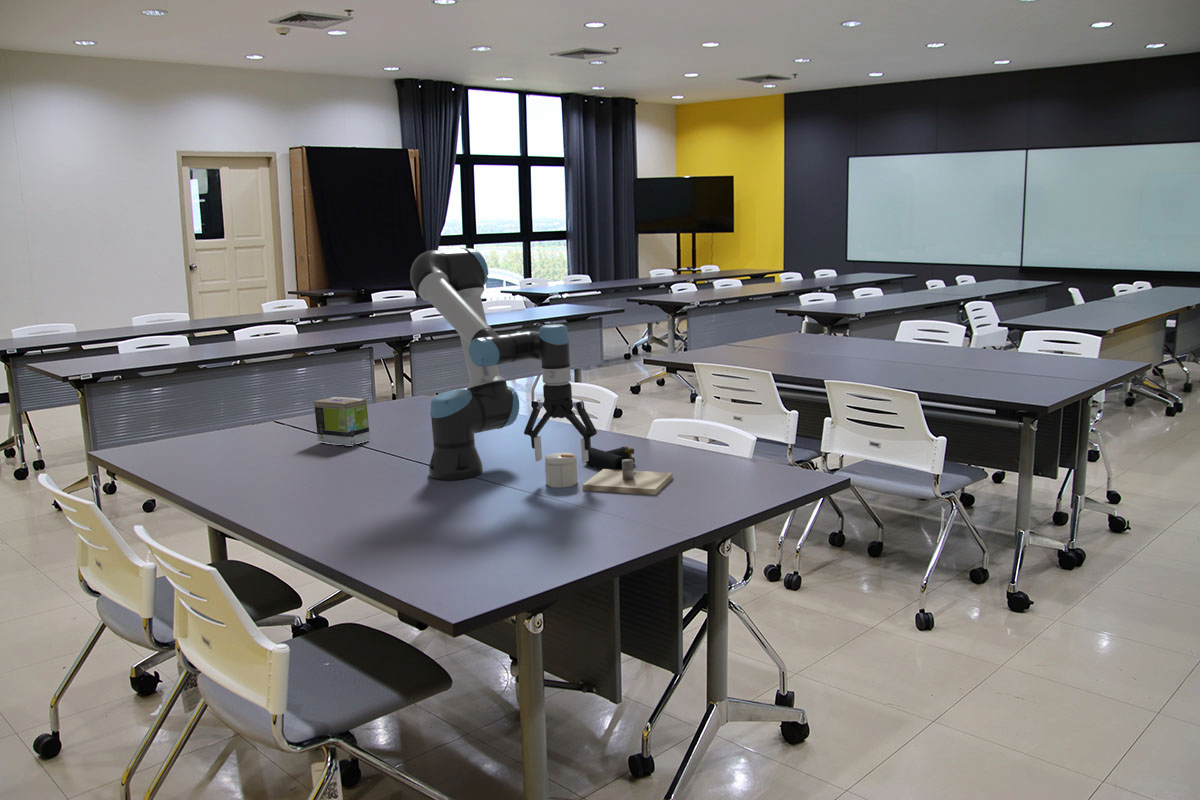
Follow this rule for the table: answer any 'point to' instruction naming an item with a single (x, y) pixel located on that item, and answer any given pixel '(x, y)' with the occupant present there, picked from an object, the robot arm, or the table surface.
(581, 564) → the table surface
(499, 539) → the table surface
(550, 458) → the knob
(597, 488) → the shaft base
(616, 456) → the pipe connector
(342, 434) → the tea box
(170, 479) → the table surface
